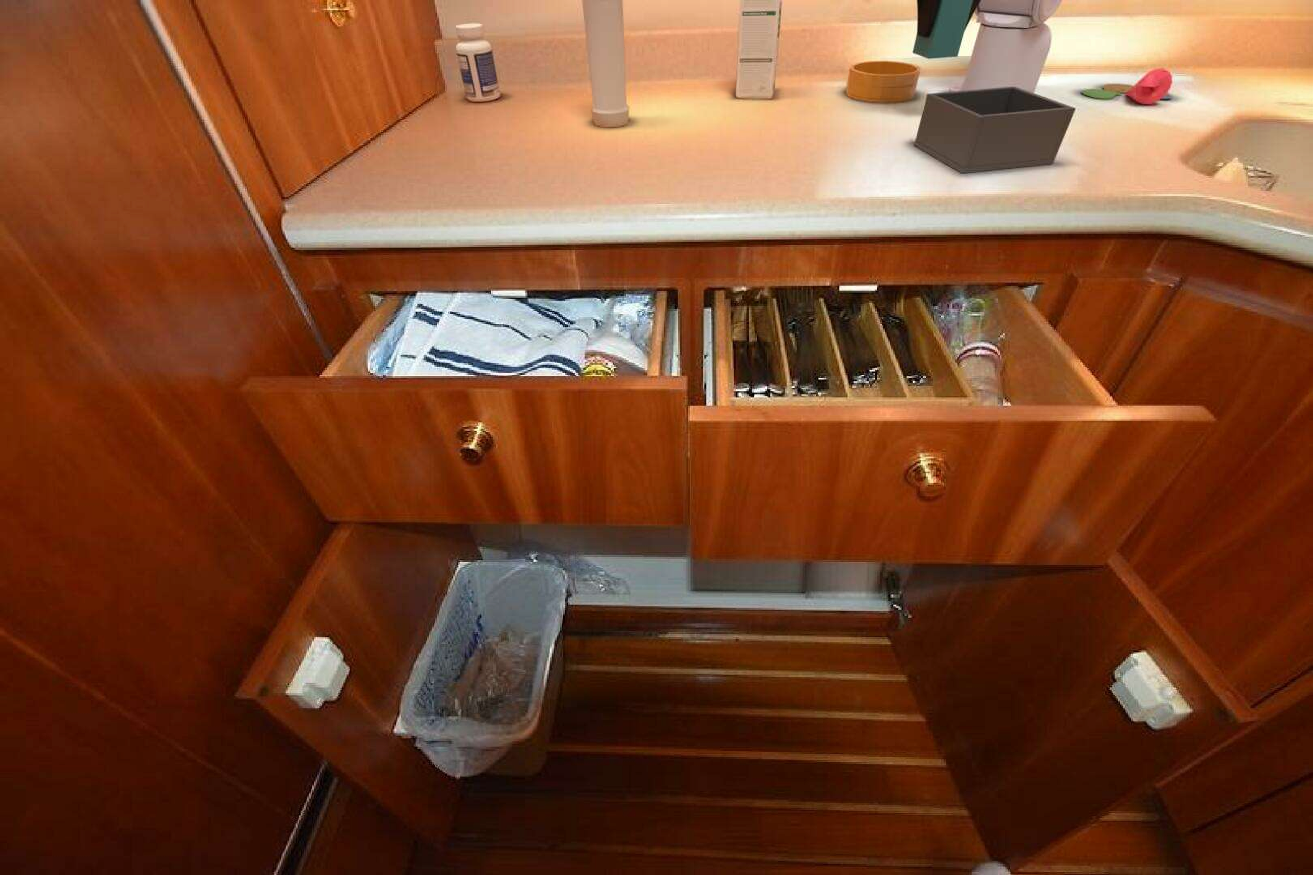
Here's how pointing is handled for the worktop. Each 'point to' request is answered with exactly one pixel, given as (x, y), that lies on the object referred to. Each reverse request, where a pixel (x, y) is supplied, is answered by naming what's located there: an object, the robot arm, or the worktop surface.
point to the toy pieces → (1138, 88)
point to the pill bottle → (476, 64)
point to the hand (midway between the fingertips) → (939, 35)
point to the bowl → (882, 81)
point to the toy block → (945, 30)
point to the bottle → (606, 61)
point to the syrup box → (757, 48)
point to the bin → (992, 128)
